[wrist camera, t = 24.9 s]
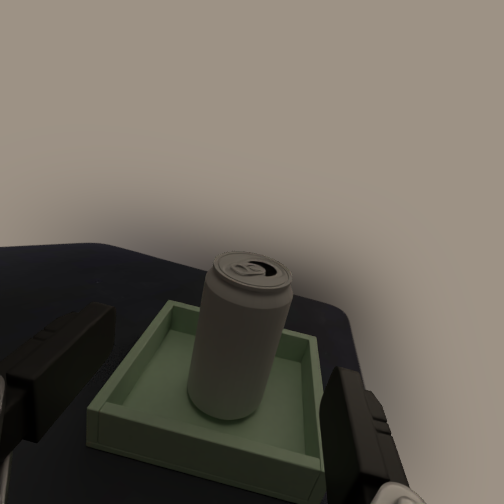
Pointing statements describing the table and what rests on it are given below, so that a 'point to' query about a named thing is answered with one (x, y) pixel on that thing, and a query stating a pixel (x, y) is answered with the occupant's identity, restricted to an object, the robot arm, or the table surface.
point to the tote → (210, 428)
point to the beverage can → (238, 333)
